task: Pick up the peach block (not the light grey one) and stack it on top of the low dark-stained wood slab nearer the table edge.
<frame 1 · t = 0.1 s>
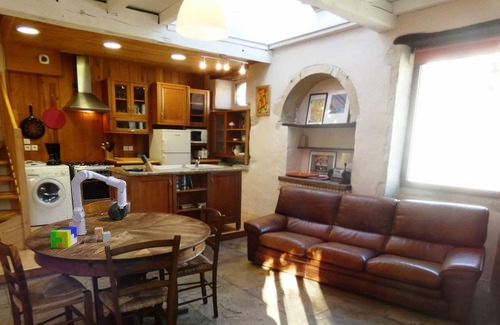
hand: (122, 216, 213), 10 cm above the table, fingers open, 7 cm apart
puzzle toy: (64, 245, 184), on the table
peach block: (98, 235, 202), on the table
squash: (117, 219, 242), on the table
wood slab: (91, 241, 190), on the table
light grey block: (106, 240, 192), on the table
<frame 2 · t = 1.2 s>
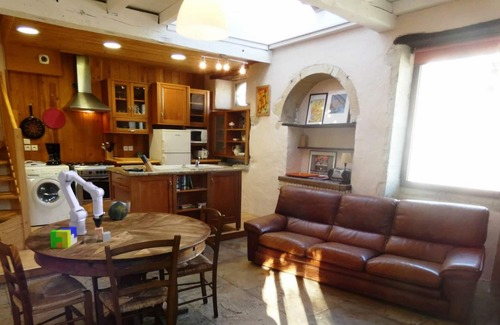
hand: (98, 226, 201), 6 cm above the table, fingers open, 7 cm apart
nothing on the table moved.
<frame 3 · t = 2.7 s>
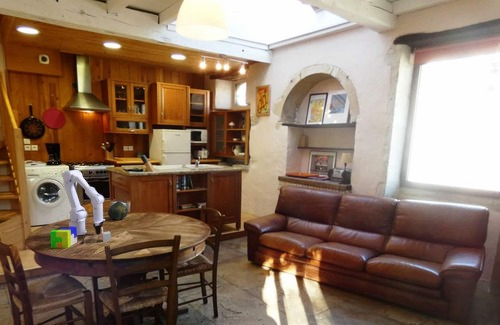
hand: (98, 233, 202), 1 cm above the table, fingers closed on peach block, 4 cm apart
peach block: (98, 235, 202), on the table, touching gripper
everything else where it was.
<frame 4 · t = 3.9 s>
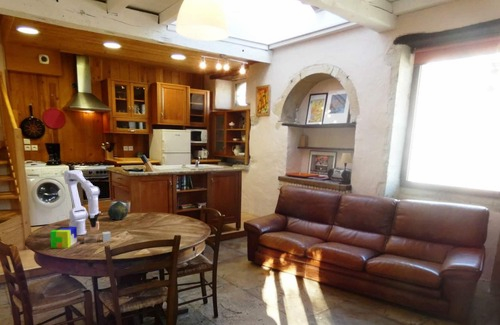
hand: (94, 226, 194), 9 cm above the table, fingers closed on peach block, 4 cm apart
peach block: (94, 229, 194), point 6 cm above the table, touching gripper
everything else where it was.
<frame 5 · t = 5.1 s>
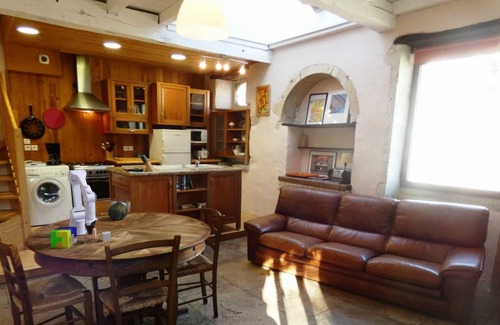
hand: (90, 233, 190), 5 cm above the table, fingers closed on peach block, 4 cm apart
peach block: (91, 237, 190), point 3 cm above the table, touching gripper
everything else where it was.
when the fingers open (5 cm above the table, at t = 5.6 s): peach block stays where it is, resting on wood slab.
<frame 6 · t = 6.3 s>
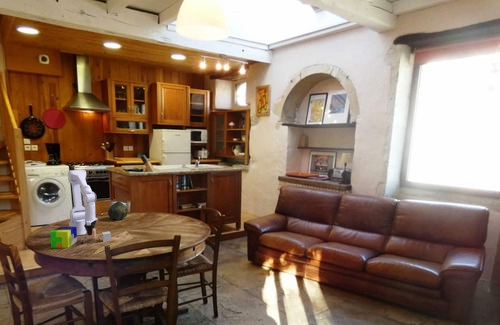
hand: (90, 233, 190), 5 cm above the table, fingers open, 7 cm apart
peach block: (91, 237, 190), point 3 cm above the table, touching wood slab
wood slab: (90, 241, 190), on the table, touching peach block
everything else where it was.
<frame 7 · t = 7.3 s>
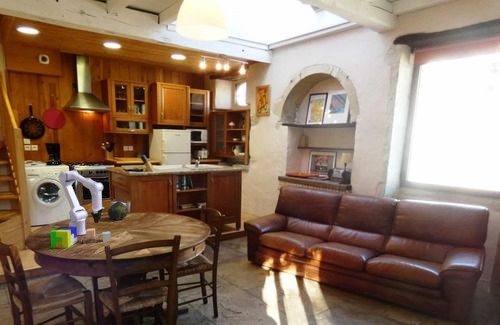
hand: (97, 221, 199), 10 cm above the table, fingers open, 7 cm apart
peach block: (90, 237, 190), point 3 cm above the table
wood slab: (90, 241, 190), on the table
everything else where it was.
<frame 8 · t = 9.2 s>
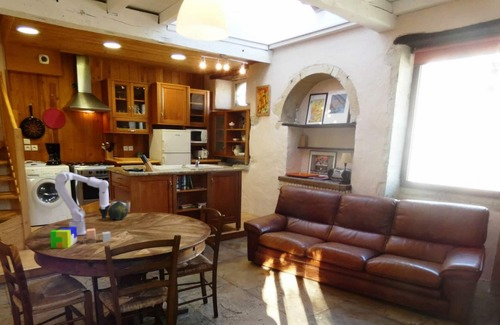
hand: (104, 216, 209), 10 cm above the table, fingers open, 7 cm apart
peach block: (91, 237, 190), point 3 cm above the table, touching wood slab
wood slab: (90, 242, 190), on the table, touching peach block
everything else where it was.
at the end: peach block 0.4 cm off-centre on the wood slab, point 3.0 cm above the wood slab's base; peach block tilted 0°; the gripper is holding nothing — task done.
